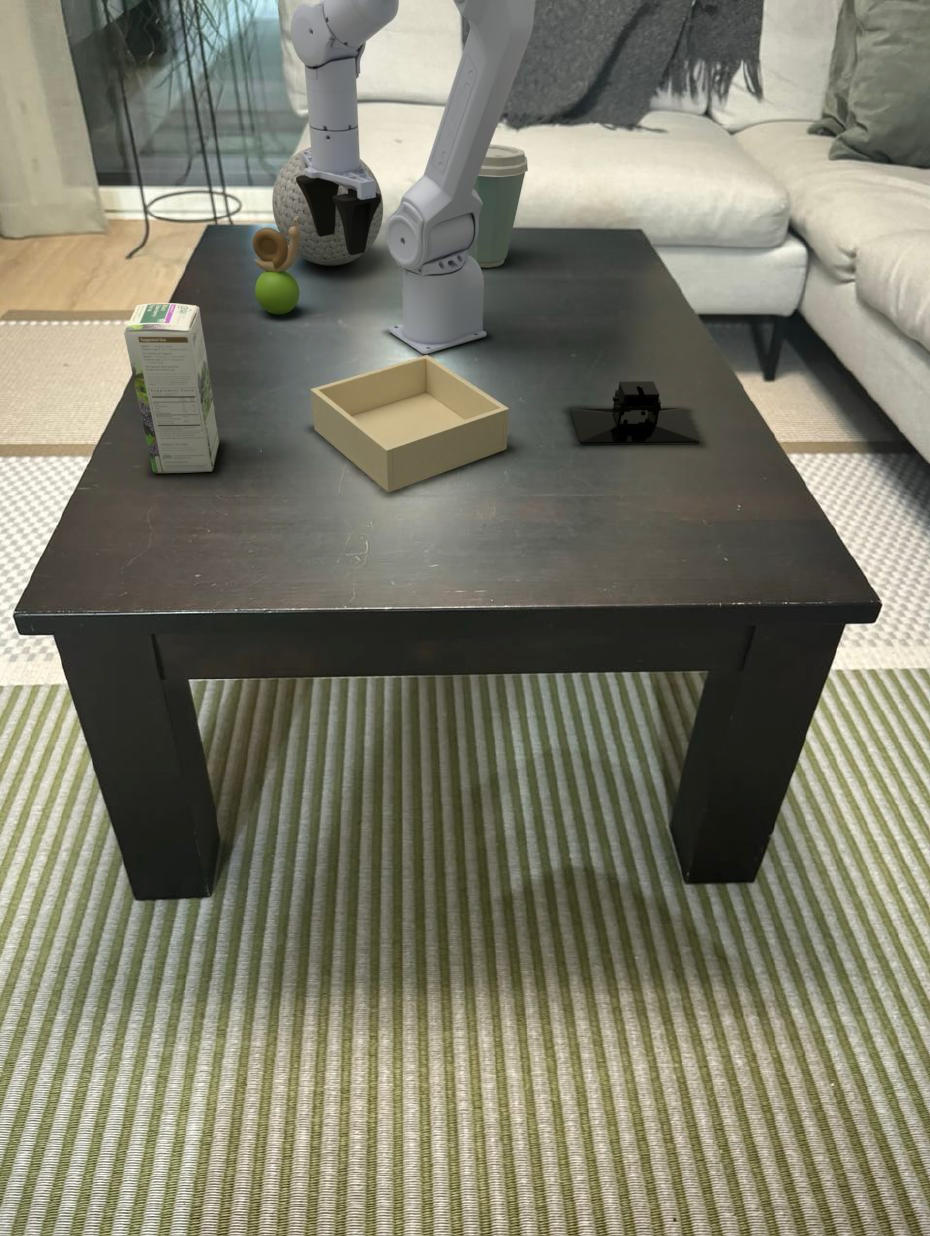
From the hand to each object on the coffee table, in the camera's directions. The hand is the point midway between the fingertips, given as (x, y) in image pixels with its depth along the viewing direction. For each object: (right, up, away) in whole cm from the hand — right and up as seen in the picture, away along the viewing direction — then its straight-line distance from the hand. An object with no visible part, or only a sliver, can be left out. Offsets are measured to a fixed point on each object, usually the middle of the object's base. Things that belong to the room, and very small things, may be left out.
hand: (341, 243), depth 116 cm
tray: (+10, -29, -22) cm, 38 cm away
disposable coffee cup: (+19, +4, +16) cm, 25 cm away
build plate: (+33, -27, -19) cm, 47 cm away
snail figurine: (-7, -9, +1) cm, 12 cm away
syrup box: (-11, -32, -26) cm, 43 cm away
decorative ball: (-3, +3, +14) cm, 15 cm away
